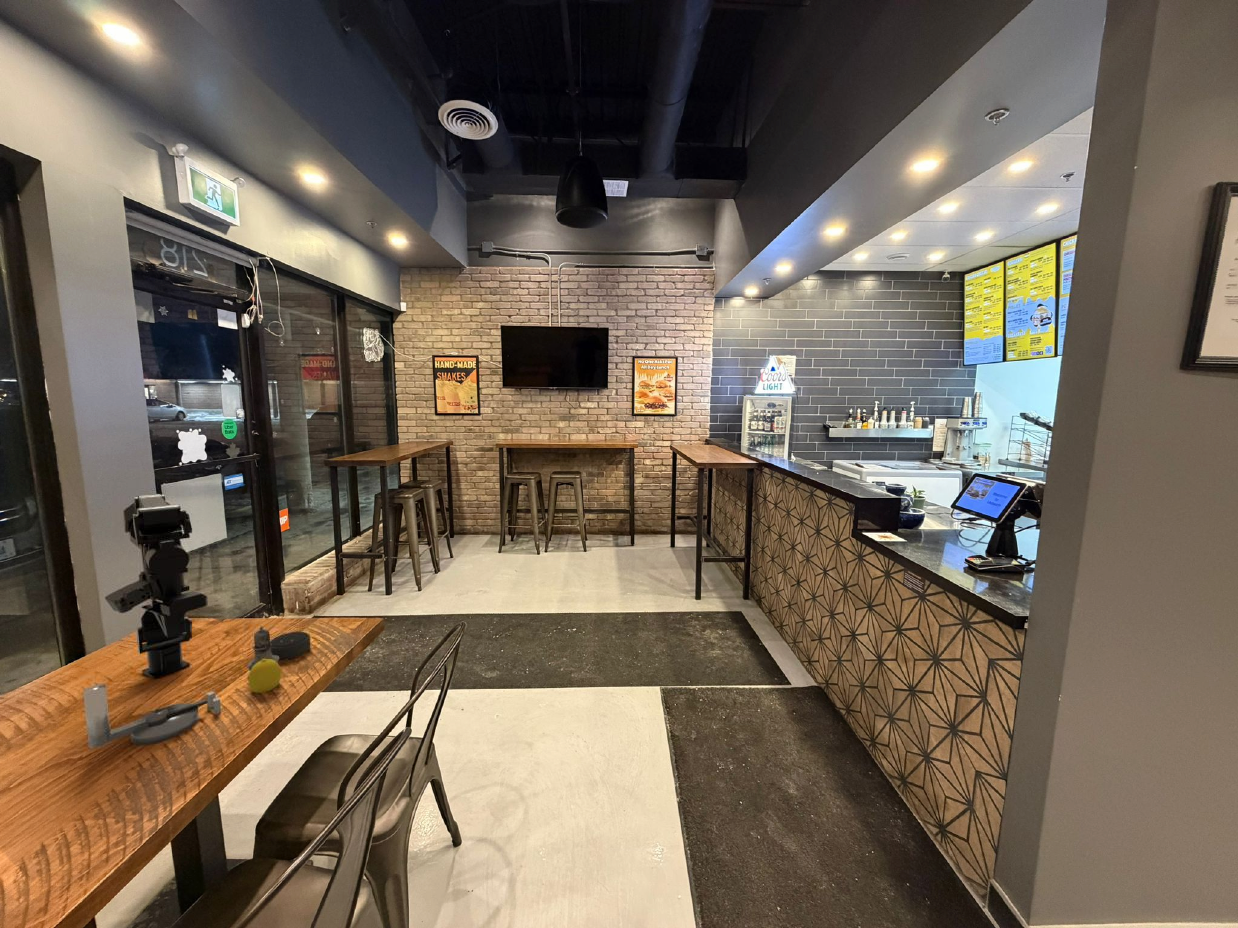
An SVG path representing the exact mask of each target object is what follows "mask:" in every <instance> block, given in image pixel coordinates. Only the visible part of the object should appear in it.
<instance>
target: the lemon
mask: <svg viewBox="0 0 1238 928" xmlns="http://www.w3.org/2000/svg"><path fill="white" fill-rule="evenodd" d="M281 676H282V670H281V667H280V665H279V662H278V663H277V662H276V661H274V660H272V659H262V660H261V661H259V662H258V663H256V664H255V665H254V666H253V667H252V669H251V671H250V670H249V674H248V685H249V688H250V690H251V691H252V692H253V693H255V694H263V693H267V692H270V691H271V690H274V689H275V688H277V686H278V684H279V683H280V682H281V679H282V677H281Z"/></svg>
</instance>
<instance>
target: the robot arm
mask: <svg viewBox="0 0 1238 928" xmlns="http://www.w3.org/2000/svg"><path fill="white" fill-rule="evenodd" d="M123 528H124V529H123V530H124V533H125V534H126V533H128V536H129V541H130V542H131V543H132V544H133V545H134V546H136V547H137V548H138V549H140V555H141V564H142V569H143V571H140V573H139V574H138V580H137V581H135V582H132V583H130V584H127V585H126V586H123V587H121V588H119V589H118V590H115V591H113V592H111V593H109V594H107V595H106V596H105V597H104V599H105V601H106V602H107V604H109V606H110V608H111V609H112V610H113V612H114V611H115V612H118V613H120V614H124V613H125V614H126V613H127V612H130V611H132V610H133V608H135V607H137V606H138V605H139V606H140V605H141V604H142V603H145V605H142V606H141V609H143V610H145V611H144V613H143V615H142V616H141V618H140V622H139V624H140V626H139V627H136V643H137V650H138V653H139V655H142V654H144V653H147V665H148V668H144V669H142V670H141V674H144V675H145V676H148V677H150V678H152V679H158V678H161V677H163V676H166V675H168V674H171V673H174V672H176V671H180V670H181V669H184V668H188V667H189V666H191V662H188V661H187V660H183V649H182V643H185V642H189V641H190V640H191V639H192V638H193V630H192V629H193V621H192V620H190V618H189V616H187V615H186V614H187V612H190V611H194V610H197V609H200V608H204V607H206V606H208V604H209V603H208V601H209V600H208V595H206V594H203V593H201V592H197V591H193V590H192V591H190V585H188V584H185V573H188V572H189V568H188V565H189V562H190V556H189V554H188V552H187V551H186V549H185V548H184V547H183V546H182V541H181V540H184V539H190V537H191V536H190V534H193V528H192V523H191V519H190V514H189V513H187V511H186V509H182V508H181V506H180V504H177V503H176V504H170V503H168V502H167V501H166V497H165V494H161V493H157V494H147V495H138V496H135V497H134V498H133V502H132V504H130V505H129V506H128V507H127V508H125V509H124V510H123Z"/></svg>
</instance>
